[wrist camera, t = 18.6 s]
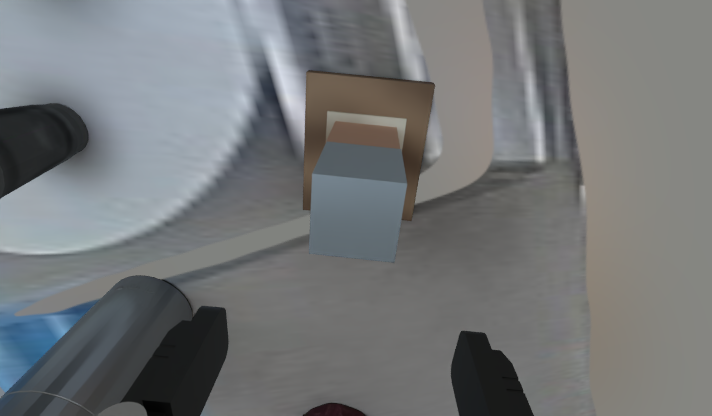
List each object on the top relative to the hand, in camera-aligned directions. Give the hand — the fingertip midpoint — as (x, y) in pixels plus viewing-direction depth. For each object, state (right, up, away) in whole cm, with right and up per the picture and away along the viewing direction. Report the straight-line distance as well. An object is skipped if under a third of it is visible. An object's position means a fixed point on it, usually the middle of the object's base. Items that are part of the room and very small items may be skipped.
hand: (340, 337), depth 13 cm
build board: (+1, +10, +20) cm, 22 cm away
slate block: (+1, +6, +13) cm, 15 cm away
